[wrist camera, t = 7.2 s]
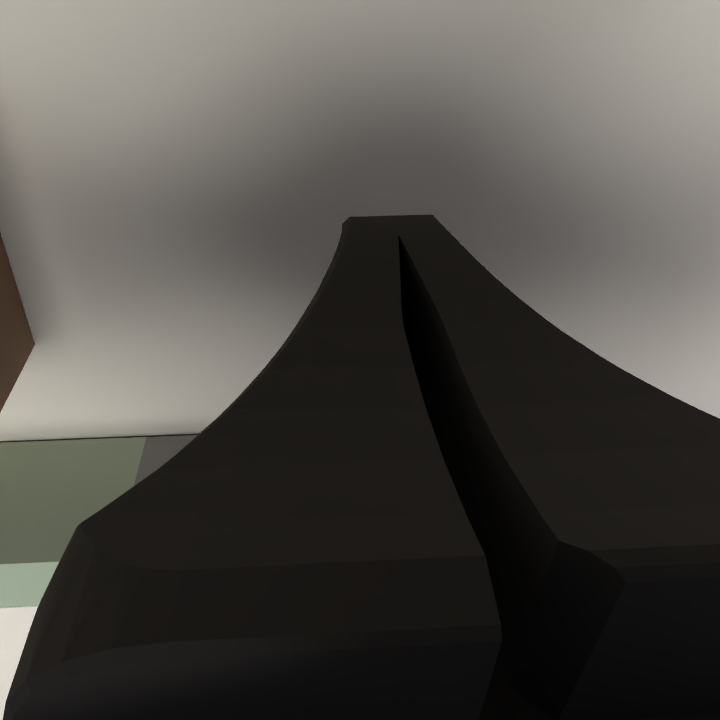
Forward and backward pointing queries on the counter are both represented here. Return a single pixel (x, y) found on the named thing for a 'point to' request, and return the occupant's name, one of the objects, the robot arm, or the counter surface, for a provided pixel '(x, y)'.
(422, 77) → the counter surface
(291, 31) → the counter surface
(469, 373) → the robot arm
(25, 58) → the counter surface
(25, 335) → the walnut block
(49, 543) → the green and grey bars
